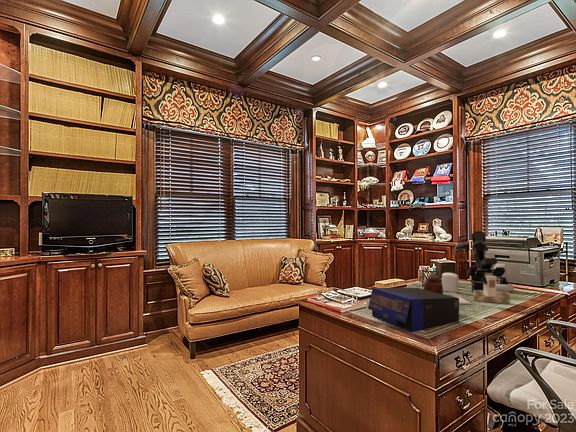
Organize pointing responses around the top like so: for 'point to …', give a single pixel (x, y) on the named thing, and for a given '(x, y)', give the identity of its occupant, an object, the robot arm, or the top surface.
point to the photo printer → (450, 282)
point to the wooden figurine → (433, 284)
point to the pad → (463, 301)
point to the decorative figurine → (503, 280)
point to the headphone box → (413, 308)
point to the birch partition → (500, 297)
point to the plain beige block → (490, 286)
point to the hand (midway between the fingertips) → (491, 284)
